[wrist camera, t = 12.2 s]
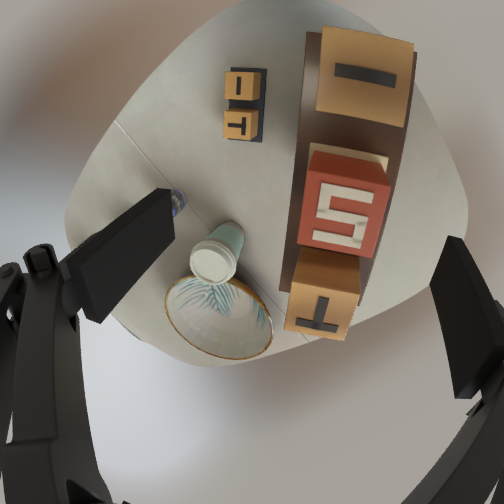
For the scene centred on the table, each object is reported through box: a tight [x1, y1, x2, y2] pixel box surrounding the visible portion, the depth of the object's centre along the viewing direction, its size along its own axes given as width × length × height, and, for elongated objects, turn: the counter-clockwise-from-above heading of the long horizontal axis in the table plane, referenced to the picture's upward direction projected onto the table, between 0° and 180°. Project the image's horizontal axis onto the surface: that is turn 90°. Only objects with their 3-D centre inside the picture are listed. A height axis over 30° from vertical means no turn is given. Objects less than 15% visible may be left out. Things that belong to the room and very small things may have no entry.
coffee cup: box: [190, 222, 245, 285], centre depth 58 cm, size 8×9×12 cm
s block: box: [297, 151, 391, 258], centre depth 18 cm, size 4×4×5 cm
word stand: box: [279, 26, 417, 341], centre depth 31 cm, size 20×7×37 cm, turn 177°
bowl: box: [165, 275, 274, 360], centre depth 70 cm, size 25×25×8 cm
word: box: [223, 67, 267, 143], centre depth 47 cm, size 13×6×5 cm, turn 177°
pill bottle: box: [171, 189, 186, 217], centre depth 59 cm, size 5×5×8 cm
